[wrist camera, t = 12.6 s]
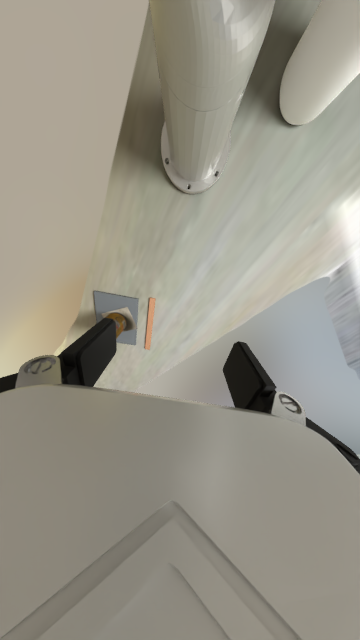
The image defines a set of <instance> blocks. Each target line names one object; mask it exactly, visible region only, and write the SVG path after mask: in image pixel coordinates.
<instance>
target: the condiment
mask: <svg viewBox="0 0 360 640" xmlns="http://www.w3.org/2000/svg"><path fill="white" fill-rule="evenodd" d="M102 316H103V318H111V319H113V320H114V321H115V322H116V339H117V338H118V336H119V335H120V334H121V333H122V332H125V331H129V330H134V329H137V327H136V324H135V322H134V319H133V317H132V315H131V313H130V311H129V309H128V307H125V308H121V309H118V310H114V311H110V312H106V313H102Z"/></svg>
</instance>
